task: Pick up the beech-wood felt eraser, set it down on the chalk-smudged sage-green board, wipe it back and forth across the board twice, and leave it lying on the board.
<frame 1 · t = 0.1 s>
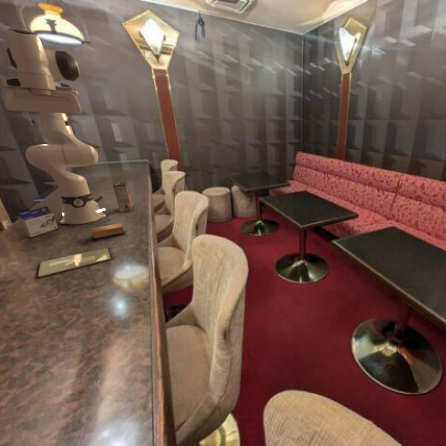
hand: (51, 125, 93), 48 cm above the bar counter, tool pointing down, fingers open, 8 cm apart
ink box: (44, 233, 116), on the bar counter
chalk board: (76, 261, 93), on the bar counter
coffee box: (126, 209, 150), on the bar counter
eraser: (109, 235, 115), on the bar counter
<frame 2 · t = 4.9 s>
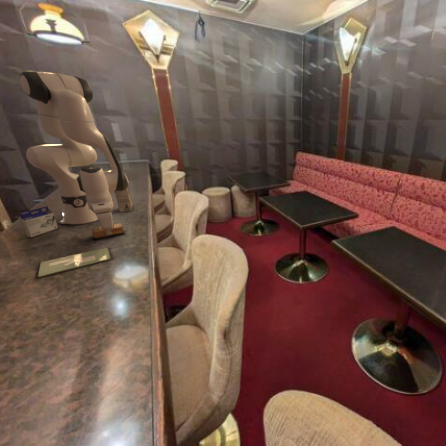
hand: (108, 232, 115), 2 cm above the bar counter, tool pointing down, fingers closed on eraser, 5 cm apart
eraser: (109, 235, 115), on the bar counter, touching gripper
everything else where it was.
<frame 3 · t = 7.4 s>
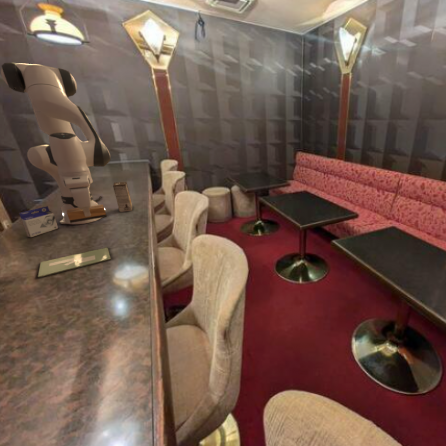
hand: (87, 213, 97), 16 cm above the bar counter, tool pointing down, fingers closed on eraser, 5 cm apart
eraser: (88, 218, 97), point 14 cm above the bar counter, touching gripper
everything else where it was.
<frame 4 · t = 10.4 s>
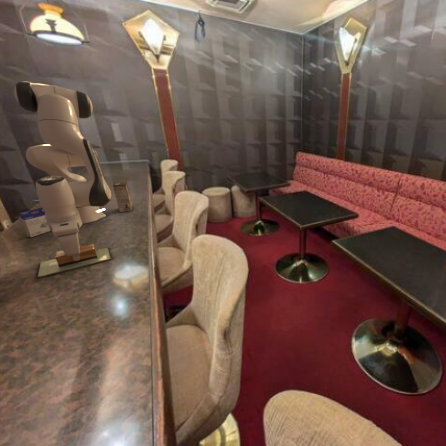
hand: (76, 256, 93), 2 cm above the bar counter, tool pointing down, fingers closed on eraser, 5 cm apart
eraser: (78, 259, 94), point 1 cm above the bar counter, touching gripper
everything else where it was.
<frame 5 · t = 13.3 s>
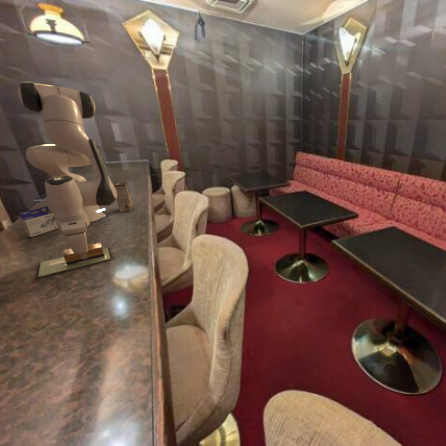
hand: (84, 255, 94), 2 cm above the bar counter, tool pointing down, fingers closed on eraser, 5 cm apart
eraser: (85, 257, 95), point 1 cm above the bar counter, touching gripper
everything else where it was.
when the fingers open (2 cm above the bar counter, at t = 16.0 s): eraser stays where it is, resting on chalk board.
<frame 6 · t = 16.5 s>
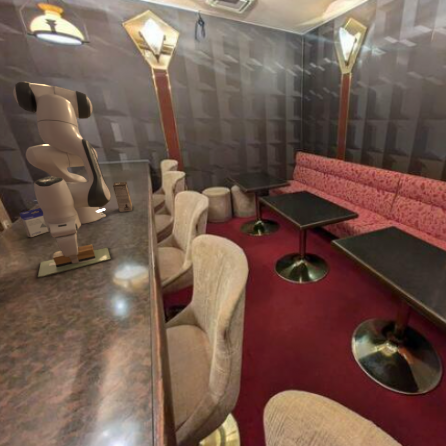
hand: (75, 257, 93), 2 cm above the bar counter, tool pointing down, fingers open, 8 cm apart
eraser: (76, 260, 93), point 1 cm above the bar counter, touching chalk board
everything else where it was.
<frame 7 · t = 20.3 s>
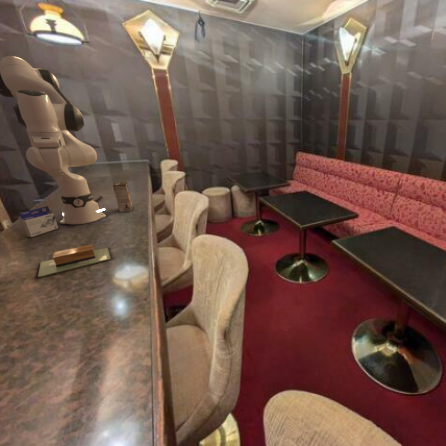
hand: (60, 178, 94), 29 cm above the bar counter, tool pointing down, fingers open, 8 cm apart
nothing on the bar counter moved.
at the end: eraser inside the target area on the chalk board (0.1 cm from its centre), point 0.6 cm above the chalk board's base; eraser moved 24.1 cm from its start; the gripper is holding nothing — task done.
